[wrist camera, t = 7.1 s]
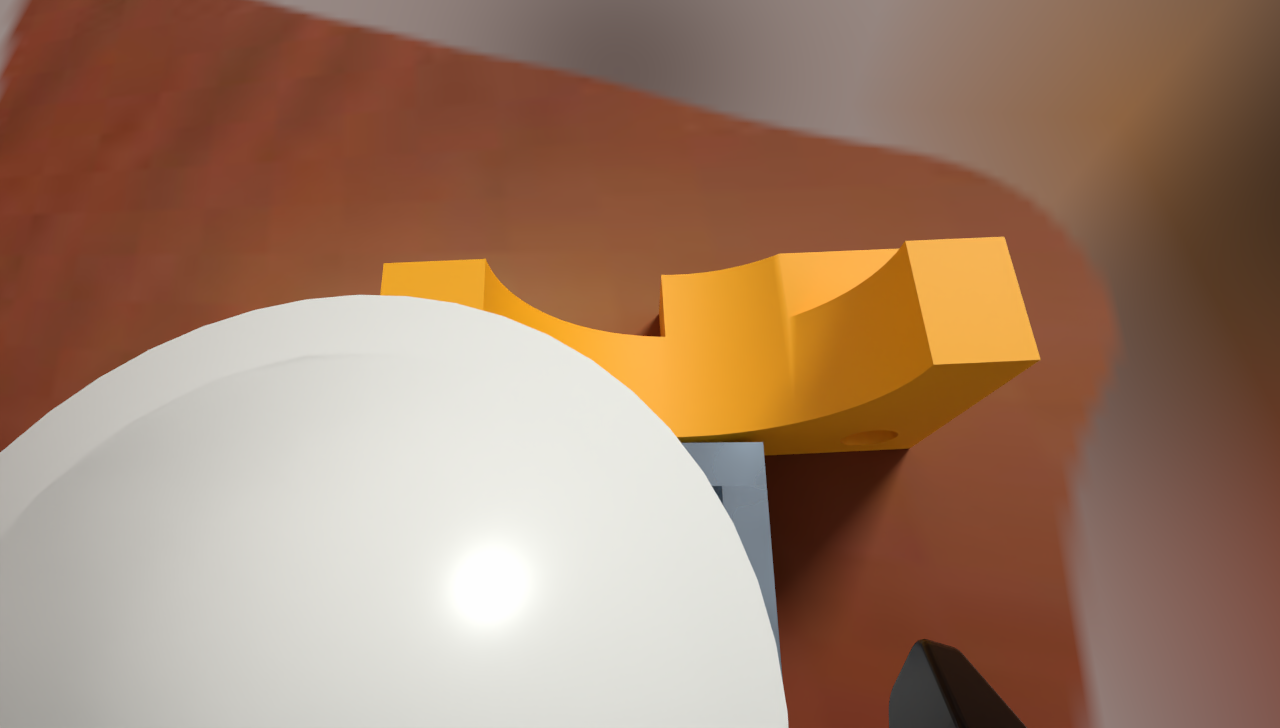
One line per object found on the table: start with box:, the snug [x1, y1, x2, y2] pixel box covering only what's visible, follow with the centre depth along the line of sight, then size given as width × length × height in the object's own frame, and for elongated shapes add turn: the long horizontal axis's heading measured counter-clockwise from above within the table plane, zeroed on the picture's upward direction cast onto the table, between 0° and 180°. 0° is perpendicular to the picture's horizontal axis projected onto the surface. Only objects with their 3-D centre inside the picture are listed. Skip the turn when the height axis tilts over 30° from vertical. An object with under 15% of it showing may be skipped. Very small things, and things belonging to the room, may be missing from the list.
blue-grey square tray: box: [682, 442, 783, 682], centre depth 15 cm, size 9×9×2 cm
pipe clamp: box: [380, 237, 1040, 456], centre depth 16 cm, size 12×4×6 cm, turn 93°
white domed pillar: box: [0, 295, 788, 728], centre depth 9 cm, size 5×5×13 cm
